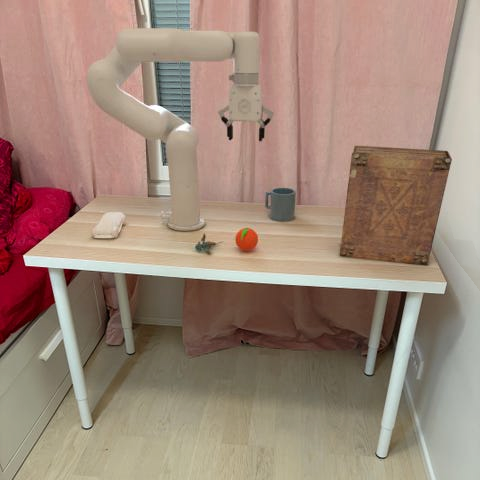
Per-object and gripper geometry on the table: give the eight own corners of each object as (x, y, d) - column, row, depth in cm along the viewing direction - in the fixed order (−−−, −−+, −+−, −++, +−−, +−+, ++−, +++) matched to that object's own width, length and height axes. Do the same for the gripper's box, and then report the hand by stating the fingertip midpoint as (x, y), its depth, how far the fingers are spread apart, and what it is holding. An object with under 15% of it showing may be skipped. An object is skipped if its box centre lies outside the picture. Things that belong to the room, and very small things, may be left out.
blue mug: (298, 216, 173) (300, 190, 168) (285, 222, 168) (286, 196, 163) (272, 209, 180) (273, 184, 175) (258, 215, 174) (258, 189, 169)
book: (338, 255, 143) (351, 151, 127) (341, 244, 150) (353, 145, 135) (427, 265, 137) (452, 157, 121) (426, 253, 144) (448, 150, 129)
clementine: (252, 257, 142) (252, 234, 138) (230, 254, 144) (230, 231, 140) (260, 247, 148) (261, 225, 144) (239, 244, 150) (240, 222, 147)
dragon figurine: (200, 238, 151) (190, 237, 144) (220, 231, 149) (212, 230, 142) (205, 258, 152) (196, 258, 144) (226, 251, 149) (218, 251, 142)
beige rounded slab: (116, 239, 153) (114, 226, 151) (91, 239, 153) (89, 226, 151) (128, 221, 169) (126, 208, 166) (105, 220, 169) (104, 208, 167)
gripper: (215, 80, 140) (216, 141, 149) (273, 81, 138) (271, 143, 146) (220, 78, 147) (221, 136, 155) (276, 79, 144) (274, 139, 153)
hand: (245, 140), depth 151 cm, fingers open, 9 cm apart
